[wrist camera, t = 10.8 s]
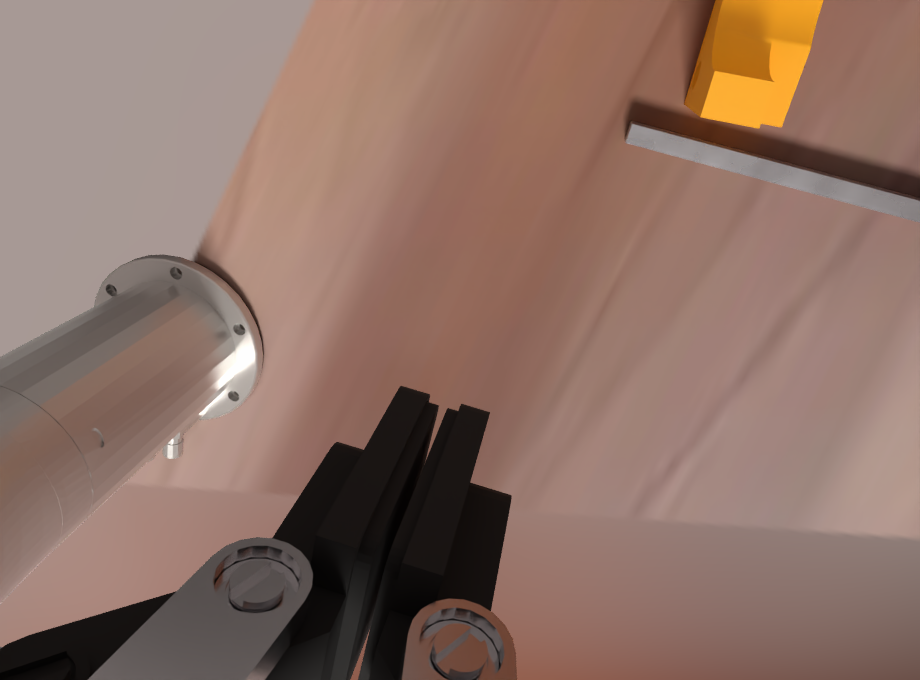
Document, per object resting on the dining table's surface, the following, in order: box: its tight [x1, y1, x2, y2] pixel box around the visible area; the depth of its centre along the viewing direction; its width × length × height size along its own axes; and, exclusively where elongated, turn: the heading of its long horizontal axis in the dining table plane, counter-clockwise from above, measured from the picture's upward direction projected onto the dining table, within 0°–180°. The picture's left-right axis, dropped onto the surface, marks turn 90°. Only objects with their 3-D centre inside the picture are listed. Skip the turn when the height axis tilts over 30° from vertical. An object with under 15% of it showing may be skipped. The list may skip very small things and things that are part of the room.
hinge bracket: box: [625, 121, 920, 222], centre depth 31 cm, size 18×21×2 cm
